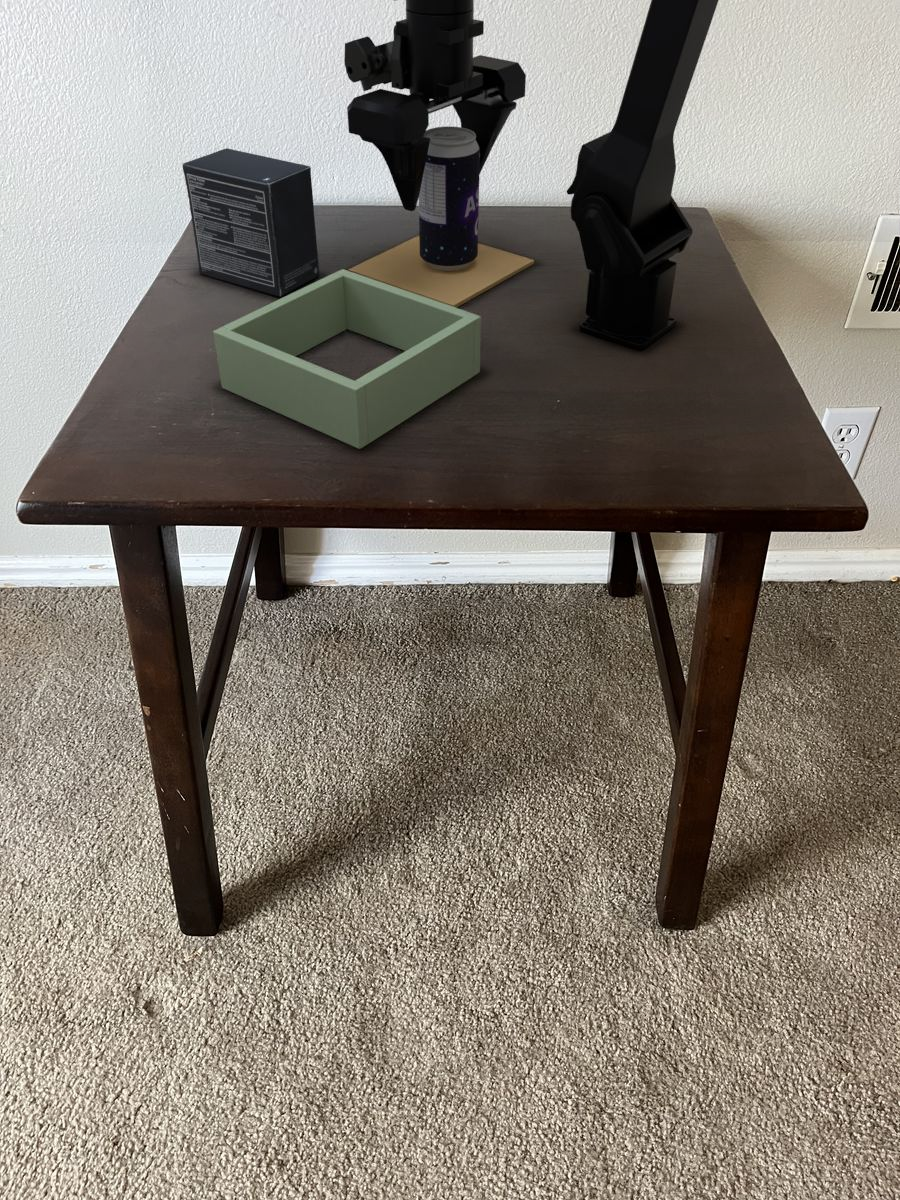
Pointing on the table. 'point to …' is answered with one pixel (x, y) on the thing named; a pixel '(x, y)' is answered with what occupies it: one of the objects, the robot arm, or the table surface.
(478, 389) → the table surface
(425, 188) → the beverage can
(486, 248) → the mat
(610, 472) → the table surface
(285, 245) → the small box
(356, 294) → the frame
